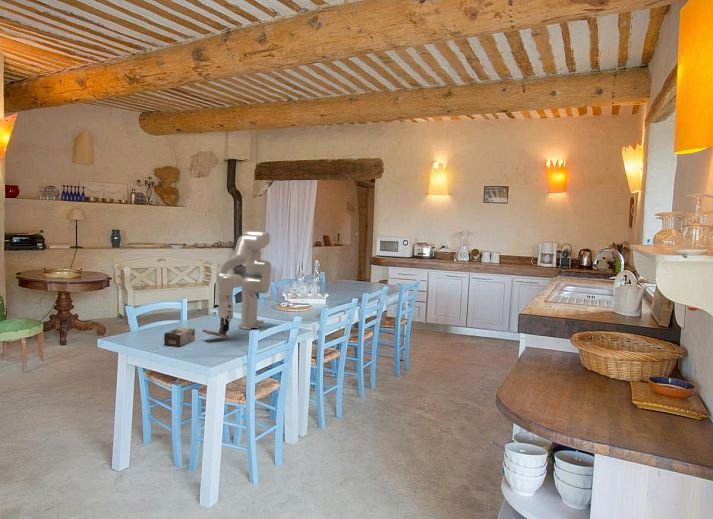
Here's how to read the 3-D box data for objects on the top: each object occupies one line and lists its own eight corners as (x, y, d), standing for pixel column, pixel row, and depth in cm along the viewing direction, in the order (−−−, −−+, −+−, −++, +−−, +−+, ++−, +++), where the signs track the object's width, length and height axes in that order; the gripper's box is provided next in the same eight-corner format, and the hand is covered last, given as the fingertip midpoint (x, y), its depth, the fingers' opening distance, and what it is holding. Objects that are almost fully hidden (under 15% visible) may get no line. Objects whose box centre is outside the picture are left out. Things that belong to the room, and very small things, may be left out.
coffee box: (180, 338, 275) (163, 345, 259) (180, 326, 274) (163, 333, 259) (195, 340, 273) (179, 346, 257) (195, 328, 273) (179, 334, 257)
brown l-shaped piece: (221, 335, 281) (227, 316, 282) (227, 337, 276) (233, 318, 277) (202, 331, 273) (208, 311, 274) (207, 333, 268) (214, 314, 269)
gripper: (238, 299, 273) (237, 332, 274) (225, 295, 285) (224, 326, 286) (225, 300, 268) (224, 334, 269) (212, 295, 280) (211, 328, 282)
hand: (224, 330), depth 278 cm, fingers closed on brown l-shaped piece, 2 cm apart
